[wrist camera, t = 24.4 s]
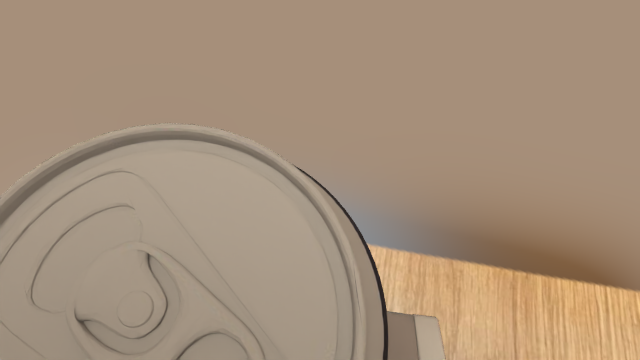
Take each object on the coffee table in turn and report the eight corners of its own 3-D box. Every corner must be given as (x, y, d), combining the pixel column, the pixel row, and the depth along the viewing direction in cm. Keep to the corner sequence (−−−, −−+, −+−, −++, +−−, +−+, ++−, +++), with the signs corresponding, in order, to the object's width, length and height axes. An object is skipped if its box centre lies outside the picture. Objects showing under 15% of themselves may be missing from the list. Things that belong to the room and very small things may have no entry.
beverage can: (265, 239, 18) (161, 23, 6) (381, 339, 16) (507, 288, 5) (154, 359, 16) (-234, 349, 5) (273, 482, 15) (105, 870, 3)
